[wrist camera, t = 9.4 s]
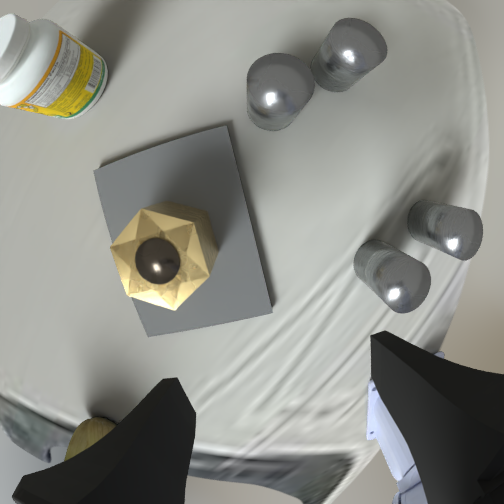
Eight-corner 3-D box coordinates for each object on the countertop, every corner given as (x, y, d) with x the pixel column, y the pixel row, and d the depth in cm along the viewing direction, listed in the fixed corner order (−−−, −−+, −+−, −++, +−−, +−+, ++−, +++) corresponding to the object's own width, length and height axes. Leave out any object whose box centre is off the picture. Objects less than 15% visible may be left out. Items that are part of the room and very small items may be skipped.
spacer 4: (439, 236, 18) (482, 253, 13) (409, 245, 18) (451, 266, 13) (436, 197, 17) (481, 205, 12) (405, 204, 17) (449, 214, 12)
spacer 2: (359, 90, 15) (394, 66, 10) (317, 94, 15) (342, 66, 10) (346, 52, 14) (375, 19, 9) (305, 54, 14) (323, 17, 10)
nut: (224, 271, 17) (217, 302, 13) (159, 286, 17) (135, 318, 13) (201, 190, 16) (185, 194, 12) (135, 210, 16) (101, 222, 12)
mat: (272, 308, 19) (272, 312, 18) (150, 332, 19) (148, 336, 18) (227, 127, 16) (226, 125, 15) (97, 170, 16) (93, 170, 15)
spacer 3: (393, 275, 18) (430, 304, 13) (356, 286, 18) (386, 320, 14) (389, 235, 18) (430, 254, 13) (350, 245, 18) (384, 268, 13)
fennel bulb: (142, 441, 23) (114, 531, 11) (115, 446, 23) (85, 524, 12) (103, 406, 21) (58, 498, 10) (79, 414, 22) (35, 492, 10)
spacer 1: (301, 125, 16) (322, 106, 11) (253, 135, 16) (256, 117, 11) (288, 82, 15) (303, 49, 10) (241, 91, 15) (239, 59, 10)
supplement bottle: (122, 82, 15) (36, 27, 5) (68, 135, 15) (-33, 123, 6) (92, 42, 13) (18, -12, 4) (43, 91, 14) (-43, 66, 5)
